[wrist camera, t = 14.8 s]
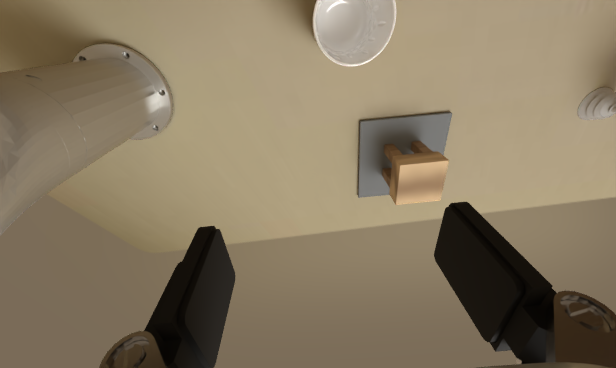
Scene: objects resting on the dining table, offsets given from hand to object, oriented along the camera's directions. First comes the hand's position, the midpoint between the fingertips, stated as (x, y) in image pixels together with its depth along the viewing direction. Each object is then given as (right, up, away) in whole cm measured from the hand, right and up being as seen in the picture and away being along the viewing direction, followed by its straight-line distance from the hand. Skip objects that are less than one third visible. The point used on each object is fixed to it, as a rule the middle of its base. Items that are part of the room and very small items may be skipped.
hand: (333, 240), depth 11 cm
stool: (+14, +7, +32) cm, 35 cm away
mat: (+14, +7, +32) cm, 36 cm away
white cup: (+3, +23, +22) cm, 32 cm away
